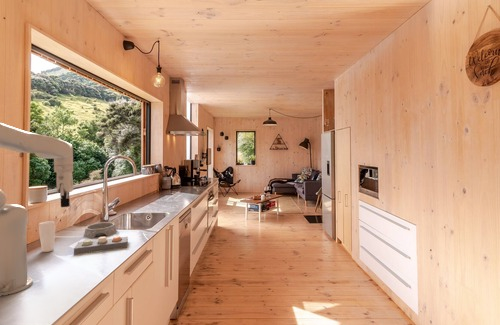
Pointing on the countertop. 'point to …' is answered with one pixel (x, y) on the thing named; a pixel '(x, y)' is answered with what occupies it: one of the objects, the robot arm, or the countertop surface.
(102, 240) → the cream button
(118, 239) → the terracotta button
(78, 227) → the countertop surface
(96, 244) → the button panel
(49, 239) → the drinking glass
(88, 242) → the sage button
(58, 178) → the robot arm
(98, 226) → the dog bowl
